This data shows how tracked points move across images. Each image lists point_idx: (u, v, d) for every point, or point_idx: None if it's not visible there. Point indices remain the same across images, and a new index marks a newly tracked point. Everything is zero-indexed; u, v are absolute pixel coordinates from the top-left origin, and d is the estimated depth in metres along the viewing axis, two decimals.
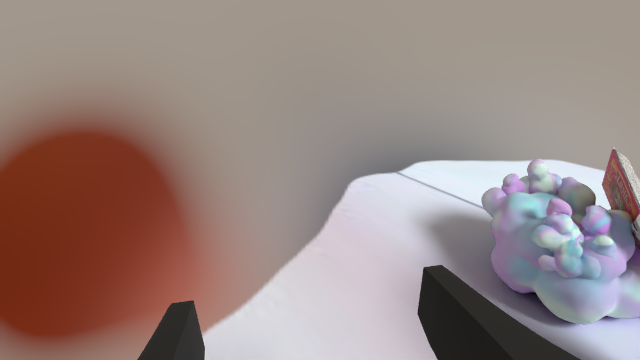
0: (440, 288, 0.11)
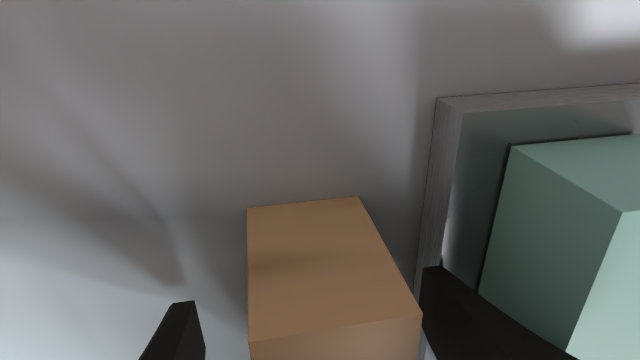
0: (439, 288, 0.11)
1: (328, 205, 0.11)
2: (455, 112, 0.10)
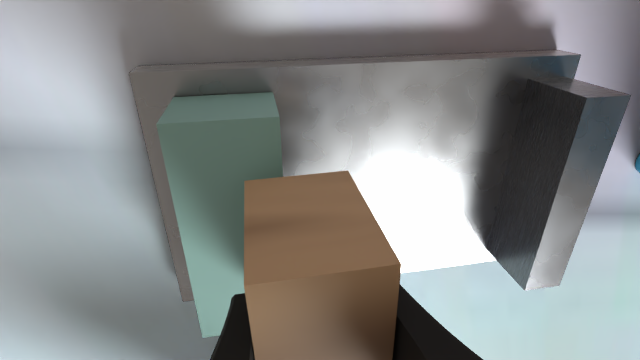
0: None
1: (320, 179, 0.12)
2: (132, 73, 0.15)
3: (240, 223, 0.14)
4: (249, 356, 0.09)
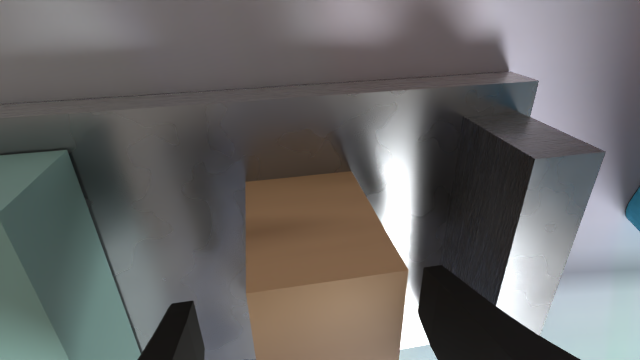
0: (440, 288, 0.11)
1: (323, 180, 0.12)
2: None
3: None
4: None
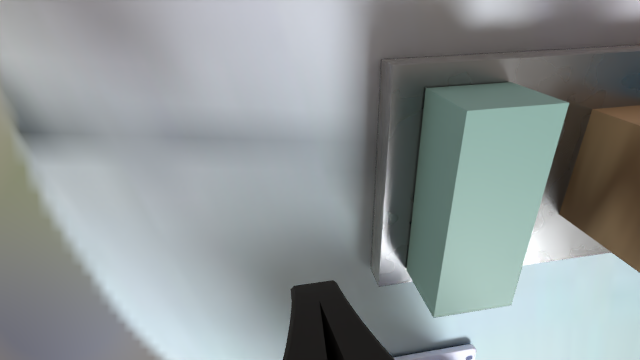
0: (320, 306, 0.10)
1: None
2: (389, 66, 0.16)
3: (502, 205, 0.15)
4: (324, 343, 0.09)
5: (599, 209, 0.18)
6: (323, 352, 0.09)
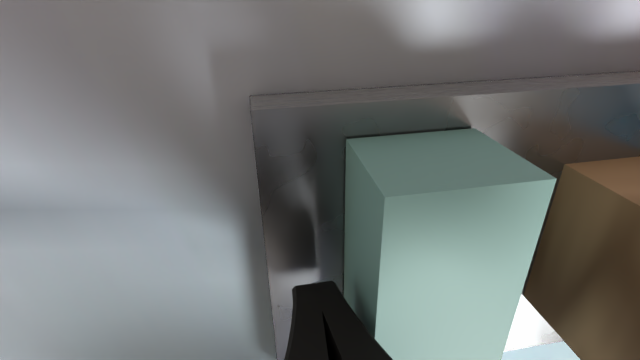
0: (319, 306, 0.10)
1: (639, 163, 0.13)
2: None
3: (456, 322, 0.10)
4: (325, 343, 0.09)
5: (574, 305, 0.13)
6: (324, 352, 0.09)
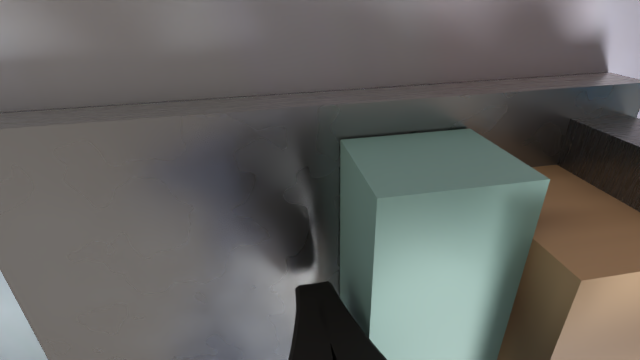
0: None
1: None
2: None
3: (451, 323, 0.10)
4: (329, 343, 0.09)
5: None
6: (328, 351, 0.09)
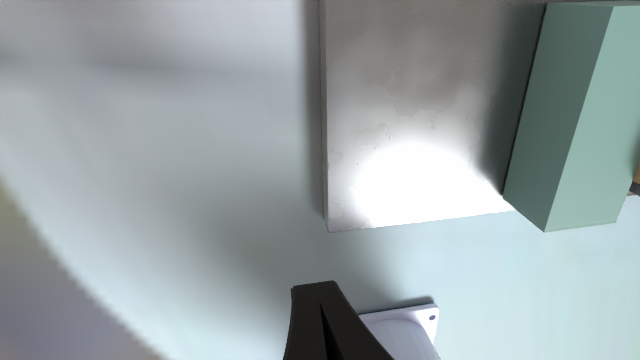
0: (320, 306, 0.10)
1: None
2: None
3: (627, 112, 0.16)
4: (324, 344, 0.09)
5: None
6: (323, 352, 0.09)
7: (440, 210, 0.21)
